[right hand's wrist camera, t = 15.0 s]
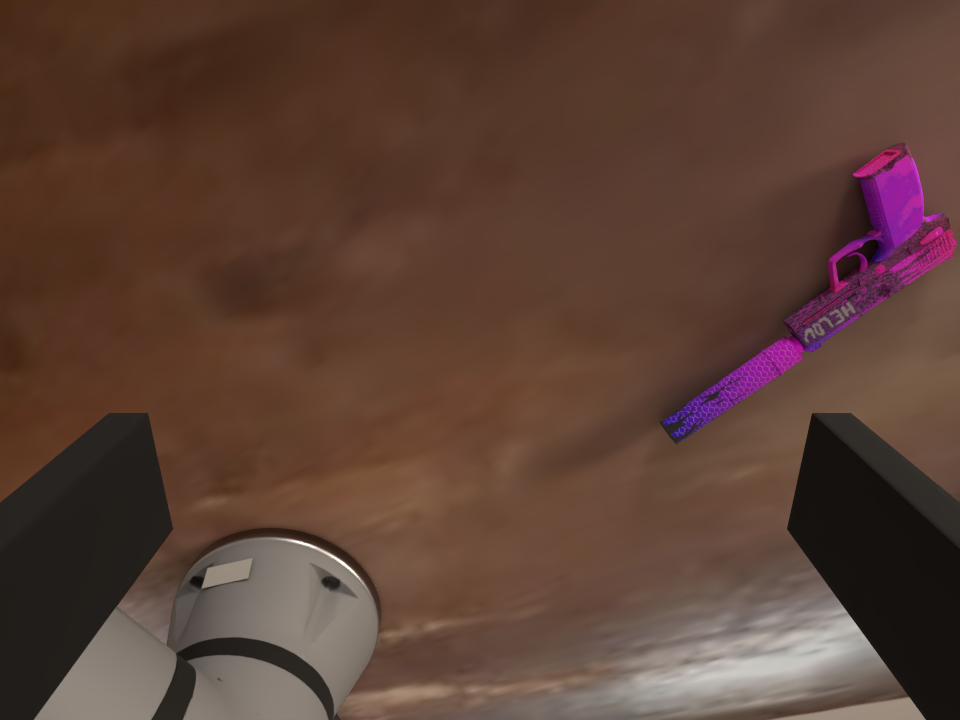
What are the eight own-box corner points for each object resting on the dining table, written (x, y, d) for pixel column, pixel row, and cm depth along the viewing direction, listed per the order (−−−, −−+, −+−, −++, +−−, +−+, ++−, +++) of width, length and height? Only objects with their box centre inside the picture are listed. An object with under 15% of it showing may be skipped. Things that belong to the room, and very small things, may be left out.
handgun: (893, 141, 37) (914, 142, 35) (954, 242, 39) (977, 247, 37) (607, 359, 41) (612, 370, 40) (674, 438, 43) (682, 452, 42)
